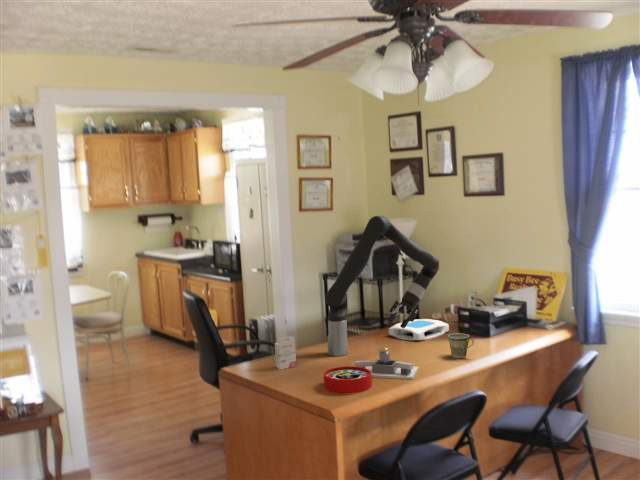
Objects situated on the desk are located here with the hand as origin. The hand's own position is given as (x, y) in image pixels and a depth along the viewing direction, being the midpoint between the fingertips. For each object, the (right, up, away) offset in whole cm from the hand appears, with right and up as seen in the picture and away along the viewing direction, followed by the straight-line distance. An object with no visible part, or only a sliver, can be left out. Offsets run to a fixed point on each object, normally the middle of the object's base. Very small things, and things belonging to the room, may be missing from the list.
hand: (395, 324), depth 300 cm
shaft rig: (-5, -21, -5) cm, 22 cm away
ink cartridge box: (-50, -21, +10) cm, 55 cm away
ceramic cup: (+33, -17, +16) cm, 41 cm away
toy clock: (-23, -23, -23) cm, 39 cm away
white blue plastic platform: (+20, -14, +65) cm, 69 cm away
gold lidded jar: (-5, -19, -5) cm, 21 cm away
